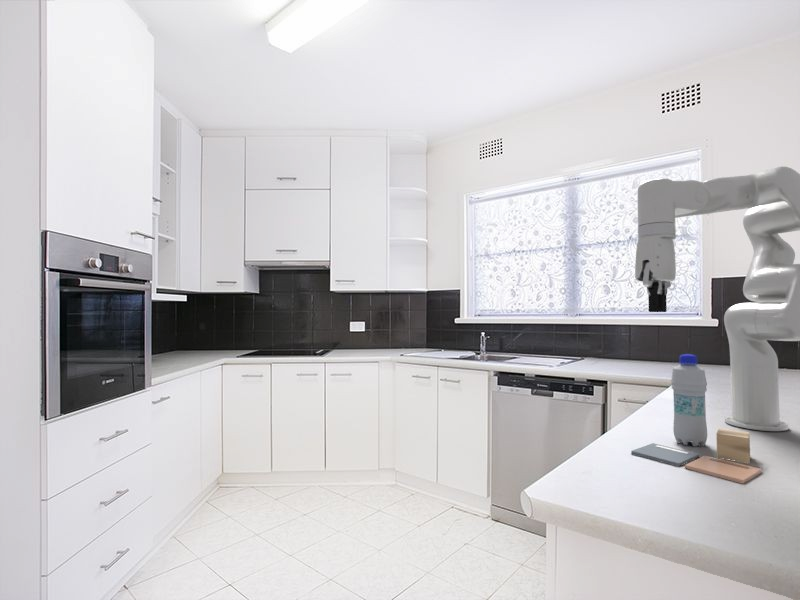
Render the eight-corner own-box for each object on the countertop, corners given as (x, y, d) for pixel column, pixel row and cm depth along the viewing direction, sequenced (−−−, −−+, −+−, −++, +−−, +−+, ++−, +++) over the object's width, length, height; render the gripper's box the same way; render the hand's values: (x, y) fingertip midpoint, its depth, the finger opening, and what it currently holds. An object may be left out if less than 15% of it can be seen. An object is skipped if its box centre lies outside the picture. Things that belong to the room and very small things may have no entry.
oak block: (719, 452, 90) (718, 428, 90) (750, 457, 86) (749, 432, 87) (717, 458, 86) (716, 433, 86) (749, 464, 83) (748, 438, 83)
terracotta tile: (705, 458, 86) (705, 455, 86) (761, 472, 78) (761, 468, 78) (684, 468, 81) (684, 464, 81) (743, 483, 73) (743, 479, 73)
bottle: (715, 449, 91) (712, 355, 92) (680, 447, 93) (677, 355, 93) (699, 439, 98) (697, 352, 99) (667, 438, 99) (665, 352, 100)
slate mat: (652, 445, 94) (652, 442, 94) (699, 457, 86) (699, 453, 86) (631, 453, 89) (631, 450, 89) (679, 466, 81) (678, 462, 81)
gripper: (655, 239, 107) (656, 312, 106) (623, 232, 99) (624, 311, 98) (688, 234, 101) (690, 312, 100) (657, 227, 92) (658, 311, 92)
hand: (657, 311), depth 99 cm, fingers closed
